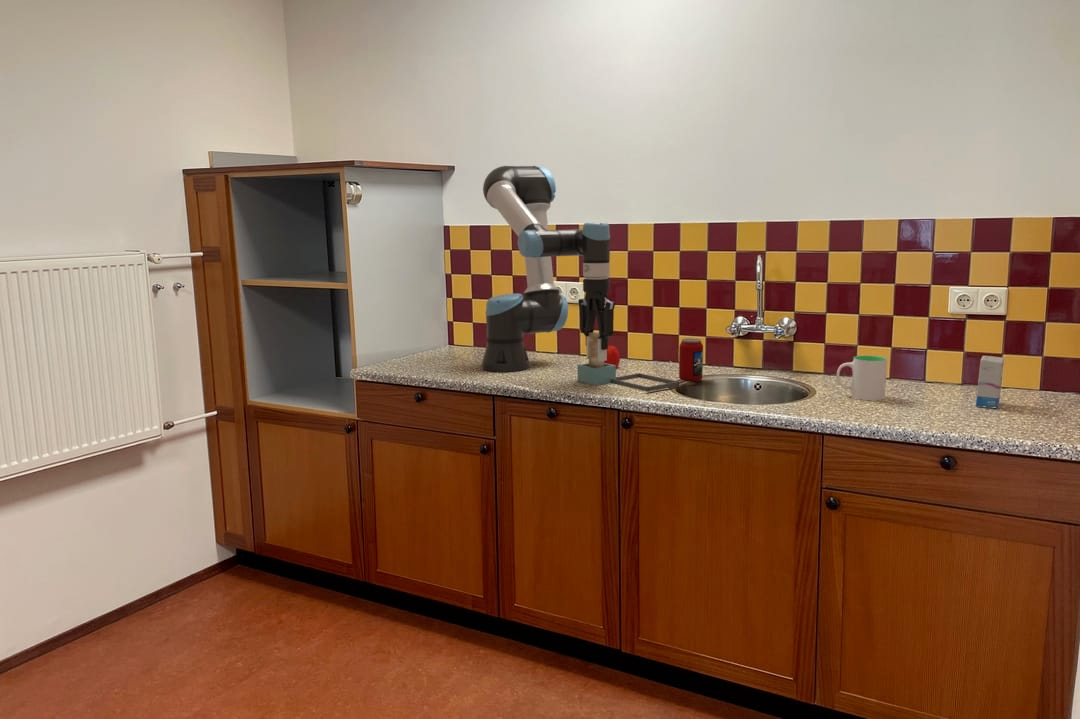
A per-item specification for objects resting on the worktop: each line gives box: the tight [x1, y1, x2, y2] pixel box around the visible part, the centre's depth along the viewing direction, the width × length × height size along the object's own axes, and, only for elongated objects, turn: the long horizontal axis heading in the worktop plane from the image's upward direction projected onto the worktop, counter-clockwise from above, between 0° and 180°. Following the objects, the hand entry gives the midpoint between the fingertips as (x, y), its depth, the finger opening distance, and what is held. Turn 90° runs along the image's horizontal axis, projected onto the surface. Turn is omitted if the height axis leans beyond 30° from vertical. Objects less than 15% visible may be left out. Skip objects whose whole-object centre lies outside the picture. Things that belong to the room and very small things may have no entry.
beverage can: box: [678, 338, 704, 383], centre depth 233 cm, size 7×7×12 cm
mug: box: [836, 355, 888, 401], centre depth 210 cm, size 12×8×10 cm
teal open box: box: [576, 362, 617, 386], centre depth 231 cm, size 8×8×6 cm
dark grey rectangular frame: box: [611, 372, 680, 395], centre depth 227 cm, size 16×12×2 cm
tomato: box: [604, 345, 621, 369], centre depth 252 cm, size 9×9×8 cm
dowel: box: [588, 331, 604, 368], centre depth 230 cm, size 4×4×14 cm
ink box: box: [975, 355, 1005, 409], centre depth 199 cm, size 9×5×12 cm, turn 148°
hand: (596, 359), depth 230 cm, fingers closed on dowel, 4 cm apart
